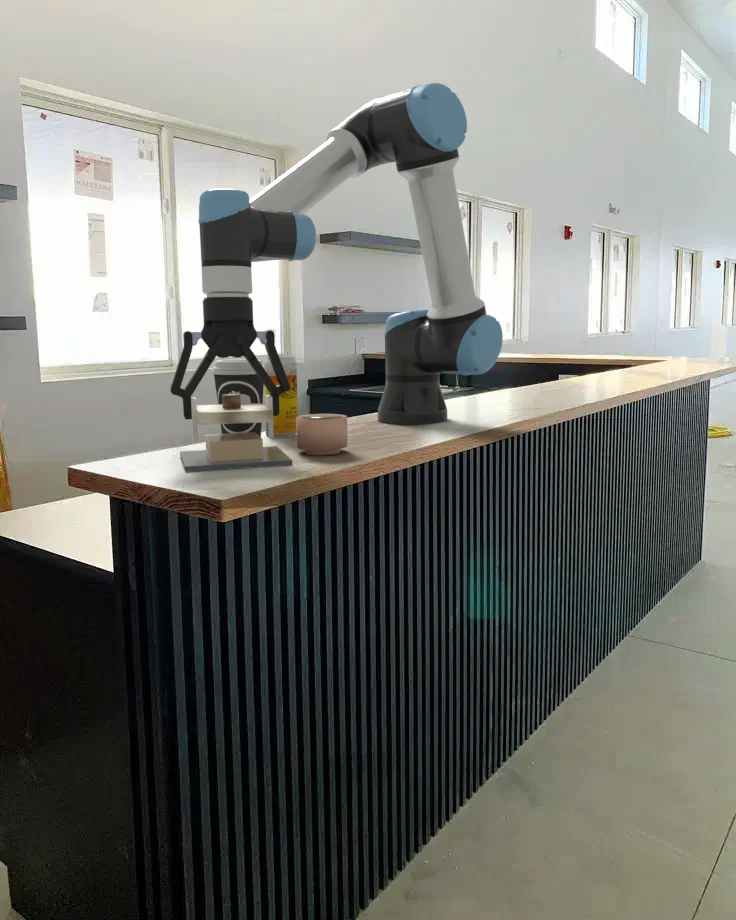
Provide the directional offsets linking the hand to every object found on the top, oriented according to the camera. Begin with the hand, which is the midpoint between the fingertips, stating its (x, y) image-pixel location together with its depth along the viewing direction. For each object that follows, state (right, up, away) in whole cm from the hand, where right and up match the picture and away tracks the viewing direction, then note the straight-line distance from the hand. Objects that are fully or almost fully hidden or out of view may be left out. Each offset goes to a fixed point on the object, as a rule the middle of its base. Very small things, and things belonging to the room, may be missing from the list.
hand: (232, 438), depth 124 cm
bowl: (+14, -2, +8) cm, 16 cm away
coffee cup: (-1, -1, +15) cm, 15 cm away
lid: (0, +3, -1) cm, 3 cm away
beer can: (+5, +1, +27) cm, 27 cm away
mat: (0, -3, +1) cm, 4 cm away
